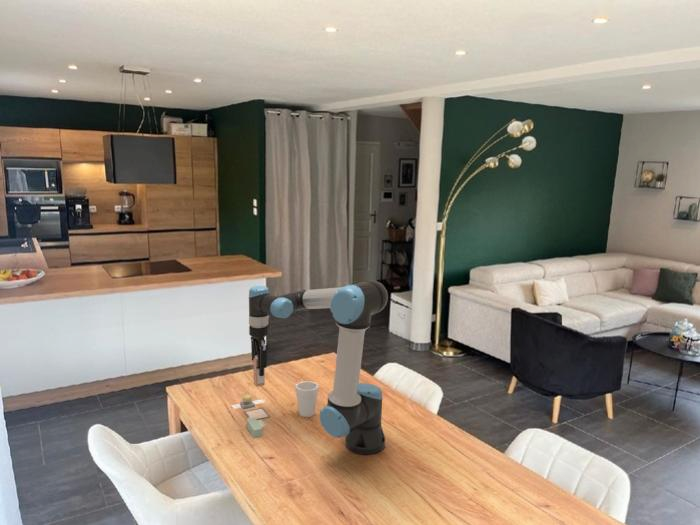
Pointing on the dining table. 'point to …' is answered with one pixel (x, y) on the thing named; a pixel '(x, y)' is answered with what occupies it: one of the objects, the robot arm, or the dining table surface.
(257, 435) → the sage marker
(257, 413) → the white flat panel
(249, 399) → the button
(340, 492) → the dining table surface
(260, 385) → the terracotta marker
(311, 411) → the foam cup
